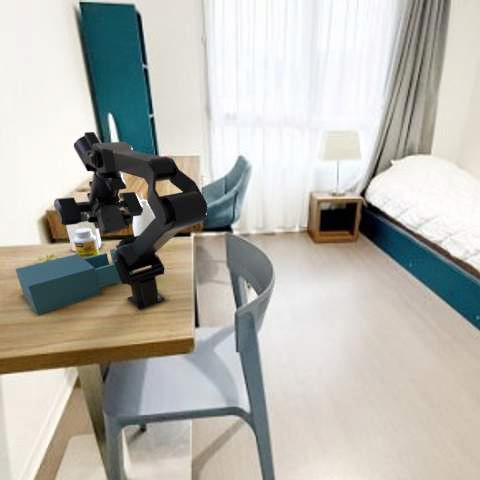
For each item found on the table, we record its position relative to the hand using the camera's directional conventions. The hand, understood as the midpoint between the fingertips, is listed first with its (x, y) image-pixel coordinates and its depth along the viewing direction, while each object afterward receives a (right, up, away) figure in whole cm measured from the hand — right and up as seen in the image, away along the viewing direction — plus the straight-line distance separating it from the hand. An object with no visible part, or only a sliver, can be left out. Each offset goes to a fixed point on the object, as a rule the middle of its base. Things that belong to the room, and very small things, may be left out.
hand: (96, 227), depth 94 cm
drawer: (+3, -13, +1) cm, 13 cm away
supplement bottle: (-7, -9, +10) cm, 16 cm away
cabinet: (-5, -17, -6) cm, 19 cm away
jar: (-14, -4, +22) cm, 26 cm away
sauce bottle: (+6, -4, +22) cm, 23 cm away
